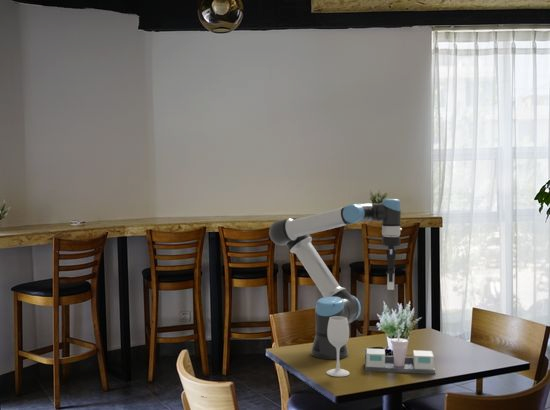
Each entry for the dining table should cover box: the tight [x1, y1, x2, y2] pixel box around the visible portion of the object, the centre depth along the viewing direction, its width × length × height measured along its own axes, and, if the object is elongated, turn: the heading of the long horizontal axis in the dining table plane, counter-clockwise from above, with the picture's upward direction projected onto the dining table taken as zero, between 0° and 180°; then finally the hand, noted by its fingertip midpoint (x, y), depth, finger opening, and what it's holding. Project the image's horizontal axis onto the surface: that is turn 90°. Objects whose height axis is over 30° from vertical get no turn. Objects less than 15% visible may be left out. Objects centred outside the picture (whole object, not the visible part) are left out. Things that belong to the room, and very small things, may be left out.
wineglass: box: [326, 316, 350, 378], centre depth 238 cm, size 9×9×21 cm
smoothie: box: [390, 328, 409, 366], centre depth 244 cm, size 6×6×14 cm
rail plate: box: [364, 354, 436, 375], centre depth 245 cm, size 26×10×4 cm, turn 81°
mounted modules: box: [365, 347, 435, 370], centre depth 244 cm, size 25×8×5 cm, turn 81°
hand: (390, 287), depth 264 cm, fingers open, 13 cm apart
